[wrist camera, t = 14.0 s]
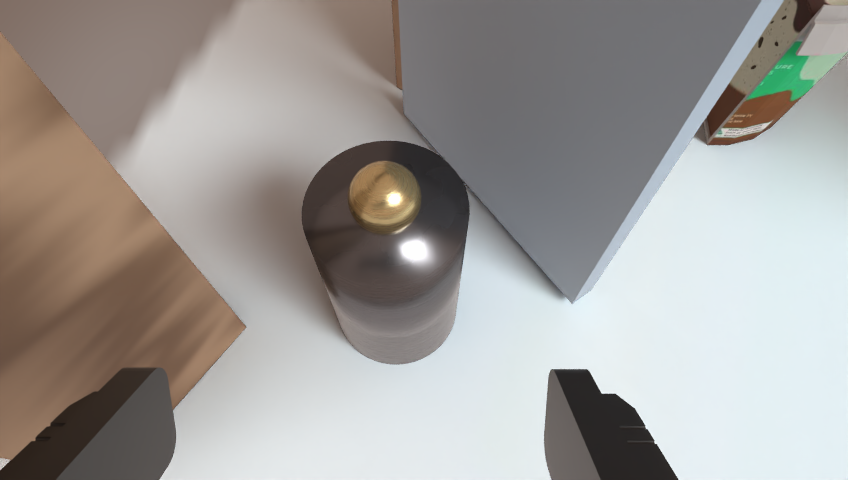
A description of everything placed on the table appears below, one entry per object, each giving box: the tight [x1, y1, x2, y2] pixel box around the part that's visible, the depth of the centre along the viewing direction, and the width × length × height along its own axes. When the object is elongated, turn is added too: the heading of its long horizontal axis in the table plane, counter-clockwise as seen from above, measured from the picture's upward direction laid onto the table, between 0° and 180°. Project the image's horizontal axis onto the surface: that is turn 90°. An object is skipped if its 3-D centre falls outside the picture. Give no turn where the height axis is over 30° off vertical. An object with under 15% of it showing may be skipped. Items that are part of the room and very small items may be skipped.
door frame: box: [0, 0, 402, 460], centre depth 20 cm, size 32×3×23 cm, turn 145°
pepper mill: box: [302, 141, 469, 364], centre depth 22 cm, size 6×6×11 cm
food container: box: [703, 0, 848, 145], centre depth 29 cm, size 12×6×10 cm, turn 175°
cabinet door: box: [398, 0, 784, 304], centre depth 21 cm, size 14×3×18 cm, turn 35°
